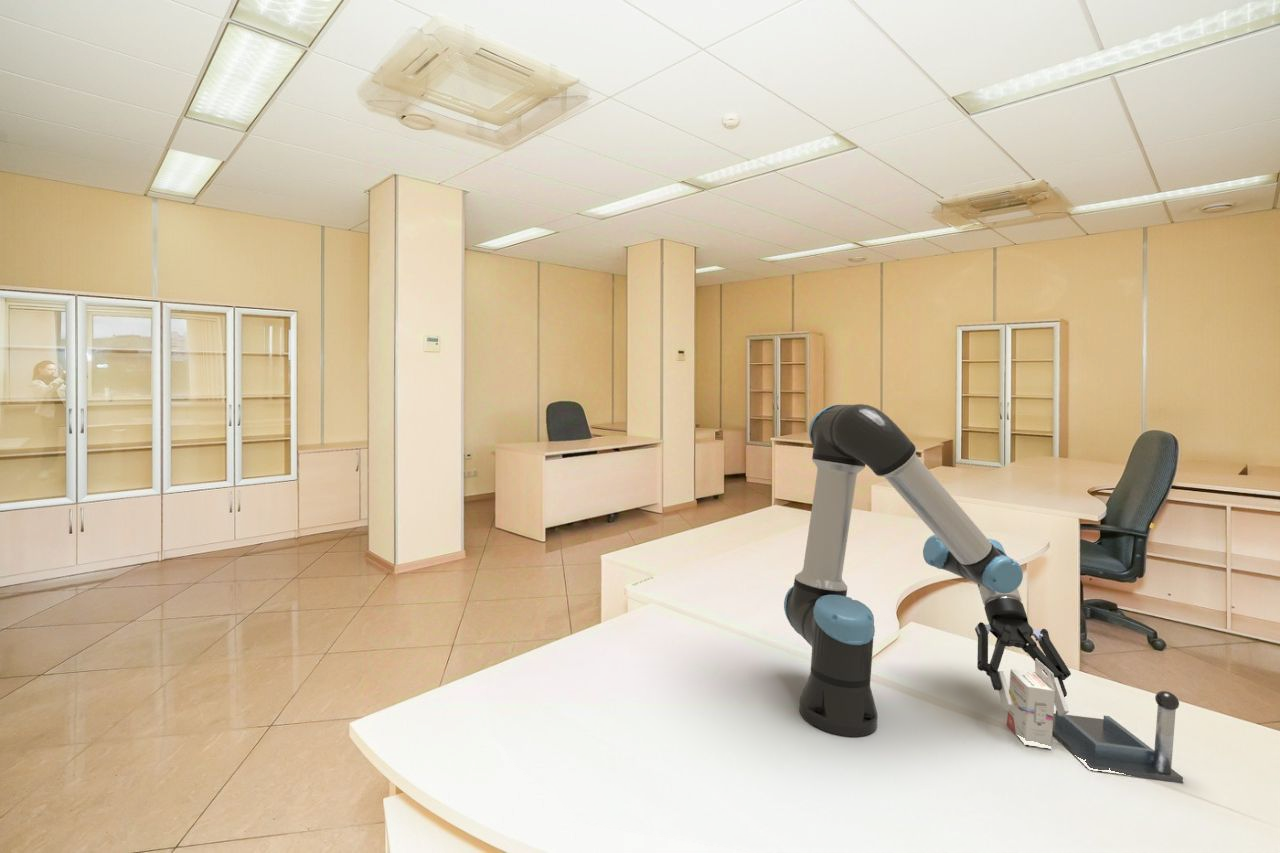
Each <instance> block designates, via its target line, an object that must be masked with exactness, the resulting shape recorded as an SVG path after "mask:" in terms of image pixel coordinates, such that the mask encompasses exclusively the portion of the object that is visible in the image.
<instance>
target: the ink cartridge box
mask: <svg viewBox="0 0 1280 853" xmlns="http://www.w3.org/2000/svg"><path fill="white" fill-rule="evenodd" d="M1034 665H1035V666H1034V668H1035V669H1034V670H1035V671H1029V670H1022V669H1014V668H1013V669H1012V668H1011V669H1010V671H1009V672H1010V673H1009V674H1010V675H1009V687H1008V690H1009V694H1010V697H1011V701H1012V704H1013V705H1012V706H1011V707H1010V708H1009V709H1007V720H1006V725H1008V727H1009V728H1010V729H1011V731H1012V732H1013V733H1014V734H1015V735H1016V734H1017V735H1019V736H1021V737H1023V738H1025V740H1026V741H1034V742H1038V743H1040V744H1045V745H1048V746H1051V747H1052V745H1053V744H1052V741H1053V740H1052V739H1053V735H1052V729H1053V714H1054V710H1055V703H1054V699H1055V684H1054V674H1053V673H1052V672H1051V671H1050V670H1049V669H1048V668H1047V667H1046V666H1044V665H1043V664H1042V663H1041V662H1040V661H1039V660H1038V659H1037V658H1035V661H1034ZM1043 670H1045V672H1046V673H1047V675H1048V676H1047V675H1046V674H1045V673H1044V671H1043Z"/></svg>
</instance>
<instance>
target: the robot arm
mask: <svg viewBox="0 0 1280 853" xmlns="http://www.w3.org/2000/svg"><path fill="white" fill-rule="evenodd" d="M808 437H809V440H810V443H811V445H812V446H813V450H812V457H811V461H812V462H813V464H814V465H815V466H816V469H817V471H816V479H815V483H814V490H813V498H812V504H811V505H812V506H811V510H810V511H811V513H810V519H809V527H808V534H807V539H806V546H805V553H804V559H803V567H802V570H800V571H799V572H798V573H796V574H795V576H794V581H793V586H792V587H790V588H789V589H788V590H787V592H786V594H785V596H784V601H783V610H784V614H785V616H786V619H787V621H788V623H789V624H790V626H791V627H792V628H793V629H794V631H795V632H796V633H798V634H799V635H800V636H801V637H802V638H803V639H804V640H805V641H806V643H808V645H809V646H810V647H811V657H810V658H811V659H810V673H809V676H808V678H807V681H806V683H805V685H804V688H803V689H802V692H801V694H800V698H799V709H798V710H799V714H800V715H801V717H802V718H803V719H804V720H805V721H807V723H809V724H811V725H812V726H813V727H816V728H818V729H820V730H822V731H825V732H827V733H831V734H835V735H838V736H843V737H864V736H868V735H871V734H873V733H874V732H875V731H876V730H877V728H878V718H879V717H878V710H877V707H876V702H875V699H874V696H873V692H872V687H871V679H872V678H871V676H872V675H871V674H872V665H873V664H872V663H873V648H874V637H875V632H876V630H875V618H874V614H873V612H872V610H871V609H870V608H869V607H868V606H867V605H866V604H865V603H863V602H861V601H859V600H857V599H853V598H852V597H850V596H847V595H848V585H847V584H846V582H845V581H844V580H843V577H842V576H843V571H844V564H845V559H846V558H845V557H846V552H847V551H846V549H847V544H848V536H849V529H850V523H851V518H852V517H851V516H852V511H853V503H854V495H855V489H856V483H857V482H856V481H857V476H858V474H859V473H860V472H861V471H863V470H864V469H865V468H866V466H867V467H868V468H869V469H870V470H871V471H872V472H873V473H874V474H875V475H876V476H877V477H884V479H886V481H888V483H889V484H890V485H891V486H892V487H893V488H894V489H895V491H896V492H897V493H898V494H899V495H900V497H901V498H903V500H904V501H905V502H906V503H907V505H909V507H910V508H911V509H912V510H913V511H914V512H915V513H916V515H917V516H918V517H919V518H920V519H921V520H922V522H924V524H925V525H926V526H927V528H929V530H930V531H931V532H932V533H933V535H931V536H928V538H927V539H926V541H925V542H924V546H923V547H922V548H923V549H922V555H923V559H924V561H925V563H926V564H927V565H928V566H931V567H934V568H936V569H938V570H943V571H946V572H949V573H952V574H953V575H956V576H959V577H961V578H963V579H965V580H967V581H970V582H972V583H975V584H977V587H978V590H979V594H980V597H981V602H982V603H983V606H984V612H985V616H986V618H987V622H988V624H985V623H983V622H981V621H980V622H979V623H978V624H977V625H976V627H975V628H974V630H975V634H976V636H977V664H976V665H977V666H976V667H977V669H978V671H980V672H982V671H983V672H985V674H986V676H988V677H989V678H990V683H991V685H992V688H993V690H995V691H998V695H999V698H1000V702H1001V705H1002V706H1001V707H1002V709H1003V710H1007V711H1008V709H1009V708H1010V707H1011V706H1012V705H1013V704H1012V701H1011V697H1010V694H1009V687H1008V683H1007V680H1006V678H1005V673H1004V671H1001V670H999V667H1000V665H1001V661H1002V658H1003V654H1004V651H1005V648H1006V647H1008V648H1009V647H1010V648H1011V647H1014V648H1017V649H1018V648H1019V649H1021V650H1023V652H1025V653H1026V654H1028V655H1029V657H1030V658H1031V659H1032V660H1033V661H1034V662H1035V658H1037V659H1038V660H1039V661H1040V662H1041V663H1042V664H1043V665H1044V666H1046V667H1047V668H1048V669H1049V670H1050V671H1051V672H1052V673H1053V674H1054V684H1055V699H1054V707H1055V710H1057V712H1058V715H1059V716H1064V715H1065V714H1066V715H1068V714H1069V712H1070V709H1069V706H1068V704H1067V701H1066V698H1065V697H1067V695H1068V692H1067V690H1066V689H1067V688H1066V686H1065V684H1064V681H1066V679H1068V678H1069V677H1070V676H1071V675H1072V673H1071V671H1070V669H1069V668H1068V666H1067V665H1066V663H1065V661H1064V660H1063V658H1062V657H1061V655H1060V653H1059V652H1058V650H1057V649H1056V647H1055V645H1054V644H1053V642H1052V640H1051V638H1050V633H1049V631H1048V630H1047V629H1046V628H1042V629H1040V630H1039V629H1034V628H1033V627H1032V626H1031V625H1030V624H1029V621H1028V620H1029V619H1028V616H1027V613H1026V609H1025V606H1024V603H1022V596H1021V594H1020V592H1019V589H1018V588H1019V587H1020V586H1021V584H1022V581H1023V578H1024V577H1023V576H1024V571H1023V568H1022V566H1021V565H1020V563H1019V562H1018V561H1017V560H1015V559H1014V558H1011V557H1010V556H1008V554H1006V552H1005V548H1004V547H1003V544H1002V543H1000V542H999V541H998V540H996V539H993V538H988V537H986V535H985V534H984V533H983V531H982V530H981V529H980V528H979V527H978V526H977V524H975V522H974V521H973V520H972V519H971V517H970V516H969V515H968V514H967V513H966V512H965V510H964V509H963V507H961V506H960V505H959V503H958V502H957V501H956V500H955V499H954V498H953V497H952V496H951V494H950V492H948V490H946V489H945V487H944V486H943V484H942V483H941V482H940V481H939V480H938V479H937V478H936V476H935V475H934V474H933V473H932V472H931V471H930V470H929V469H928V467H927V466H926V465H925V464H924V462H923V461H922V460H921V459H920V458H919V457H918V455H917V446H916V445H915V444H914V443H913V442H912V441H911V439H910V438H909V437H908V435H906V433H904V432H903V430H902V429H901V428H900V427H899V426H898V425H897V424H896V423H895V422H894V421H893V420H892V418H890V417H889V416H888V415H887V414H885V413H884V412H883V411H882V410H880V409H878V408H877V407H874V406H872V405H869V404H863V403H862V404H861V403H859V404H835V405H831V406H826V407H825V408H823V409H821V410H819V412H817V413H816V414H815V415H814V416H813V418H812V420H811V422H810V424H809V428H808ZM989 633H991V634H992V635H993V636H994V637H995V638H996V640H995V641H996V642H995V645H994V650H993V653H992V656H991V659H990V662H989ZM1032 637H1034V638H1035V640H1034V639H1033V638H1032ZM1037 643H1038V645H1039V647H1038V645H1037ZM1042 672H1043V673H1044V674H1045V675H1046V676H1047V677H1048V675H1047V673H1046V672H1045V670H1042Z"/></svg>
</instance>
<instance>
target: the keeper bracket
mask: <svg viewBox="0 0 1280 853" xmlns="http://www.w3.org/2000/svg"><path fill="white" fill-rule="evenodd" d="M1154 698H1155V699H1154V700H1155V703H1156V704H1157V708H1156V709H1157V710H1156V712H1157V713H1156V724H1155V725H1156V726H1155V738H1154V739H1155V740H1154V749H1153V748H1151V747H1150V746H1149V745H1148V744H1146V743H1145V742H1143V741H1142V740H1141V738H1138V736H1136V735H1134V734H1133V733H1132V732H1131V731H1130V730H1128V729H1127V728H1125V727H1124V726H1123V725H1122V724H1120V723H1119V722H1117V721H1116V720H1115V719H1113V718H1112V717H1111V716H1109V715H1103V718H1098V717H1097V718H1096V717H1089V716H1081V715H1080V716H1079V715H1072V714H1065V715H1064V716H1059V715H1058V712H1057V709H1055V713H1054V714H1053V729H1052V737H1054V738H1055V739H1056V740H1057V741H1058V742H1059V743H1060V744H1061V745H1062V746H1063V747H1064V748H1065V749H1066V750H1067V751H1068V752H1070V754H1071V755H1072V756H1074V755H1076V756H1077V757H1079V758H1081V759H1083V760H1085V759H1086V761H1085V762H1086V763H1087V765H1088V766H1089V767H1090V768H1093V769H1098V770H1109V768H1110V770H1111V771H1115V772H1119V773H1124V774H1126V775H1131V776H1130V777H1133V776H1134V777H1135V778H1142V779H1148V780H1156V781H1162V782H1163V781H1164V782H1172V783H1179V784H1183V783H1184V777H1183V776H1182V775H1181V774H1179V773H1178V772H1177V771H1175V770H1174V769H1173V768H1172V765H1173V764H1172V763H1173V754H1174V753H1173V752H1174V748H1173V747H1174V739H1175V737H1174V736H1175V723H1176V722H1175V721H1176V711H1177V709H1178V708H1179V706H1180V701H1179V698H1178V697H1177V696H1176V695H1175V694H1174V693H1172V692H1170V691H1165V690H1162V691H1158V692H1157V693H1156V694H1155V697H1154ZM1126 775H1125V776H1126Z"/></svg>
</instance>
